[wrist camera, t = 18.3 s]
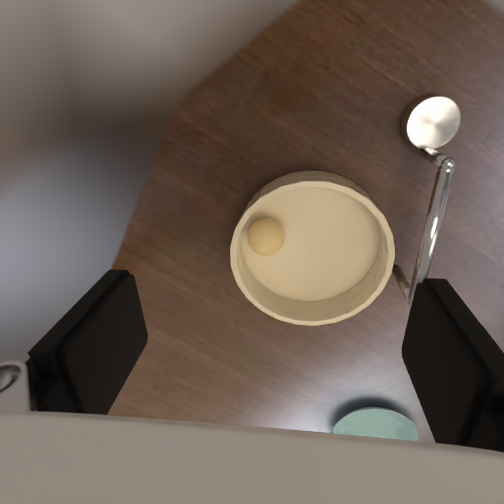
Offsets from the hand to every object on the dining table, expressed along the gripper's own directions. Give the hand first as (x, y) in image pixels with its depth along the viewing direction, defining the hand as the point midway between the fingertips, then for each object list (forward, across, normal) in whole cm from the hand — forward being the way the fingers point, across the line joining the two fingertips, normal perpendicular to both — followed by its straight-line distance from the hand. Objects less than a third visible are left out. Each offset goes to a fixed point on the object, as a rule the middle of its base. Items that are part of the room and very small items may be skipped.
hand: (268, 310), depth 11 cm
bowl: (+25, -3, +9) cm, 27 cm away
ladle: (+25, -13, +4) cm, 28 cm away
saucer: (+25, -13, +39) cm, 48 cm away
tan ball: (+21, +1, +8) cm, 22 cm away
